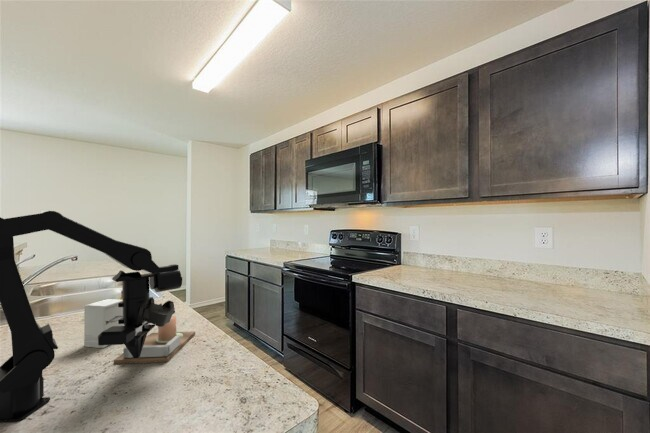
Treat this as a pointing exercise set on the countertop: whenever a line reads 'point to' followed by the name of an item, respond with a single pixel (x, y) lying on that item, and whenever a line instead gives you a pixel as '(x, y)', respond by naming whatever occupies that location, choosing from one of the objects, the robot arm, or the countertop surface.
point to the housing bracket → (156, 349)
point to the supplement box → (100, 320)
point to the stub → (167, 330)
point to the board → (153, 340)
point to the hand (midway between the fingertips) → (136, 357)
